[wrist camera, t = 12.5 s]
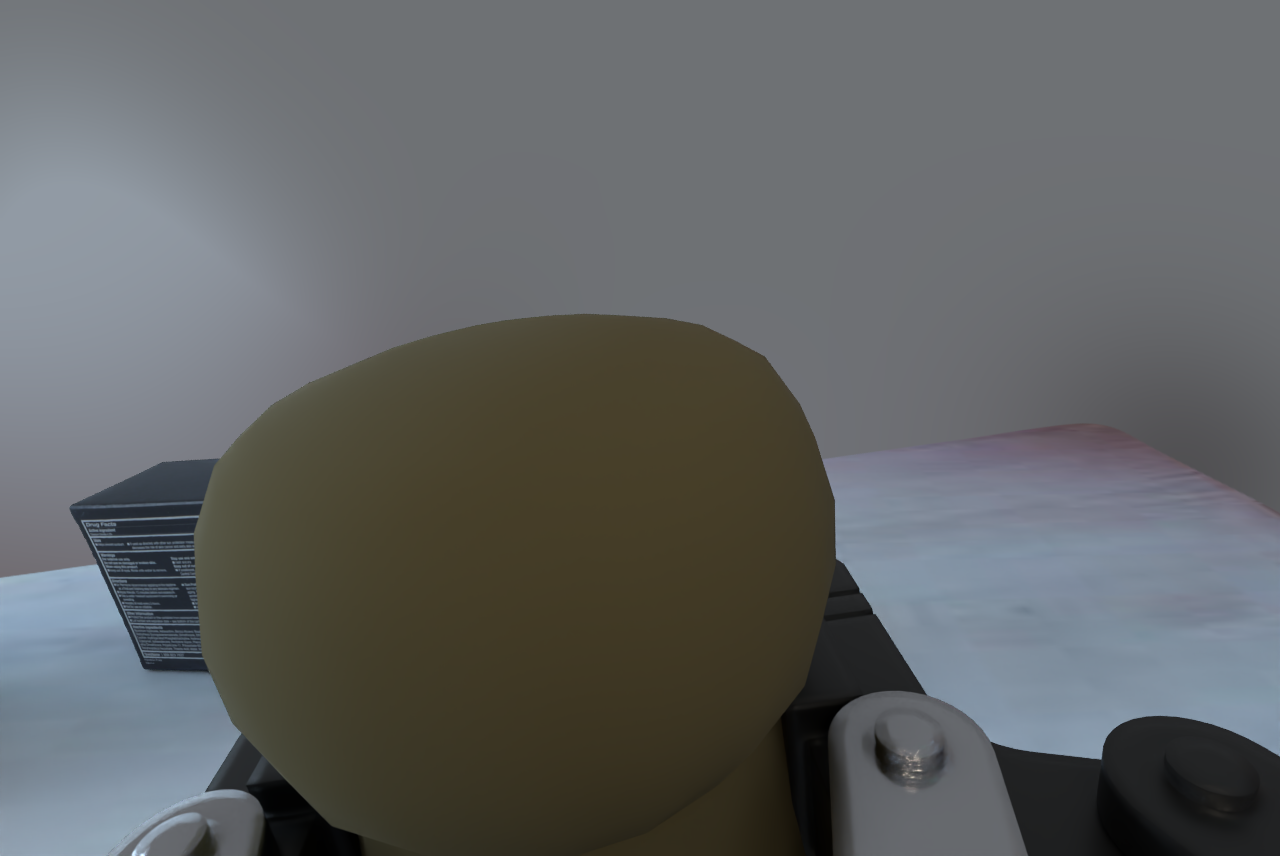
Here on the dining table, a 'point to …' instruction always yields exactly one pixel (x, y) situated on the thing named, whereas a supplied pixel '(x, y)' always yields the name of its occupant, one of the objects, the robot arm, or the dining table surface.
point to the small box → (152, 557)
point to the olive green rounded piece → (526, 591)
